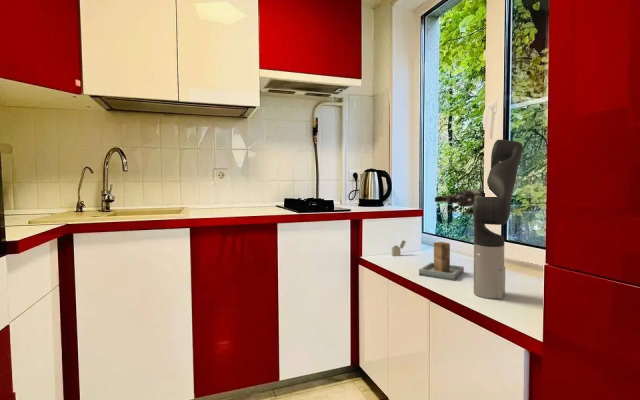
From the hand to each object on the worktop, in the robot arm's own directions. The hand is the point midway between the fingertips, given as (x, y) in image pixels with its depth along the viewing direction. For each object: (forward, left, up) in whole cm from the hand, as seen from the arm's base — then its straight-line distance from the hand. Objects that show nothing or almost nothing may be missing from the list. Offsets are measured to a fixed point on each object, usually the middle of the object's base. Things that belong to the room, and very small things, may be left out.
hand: (442, 199), depth 155 cm
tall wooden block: (-4, +13, -29) cm, 32 cm away
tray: (-4, +13, -30) cm, 33 cm away
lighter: (+25, -10, -30) cm, 40 cm away
